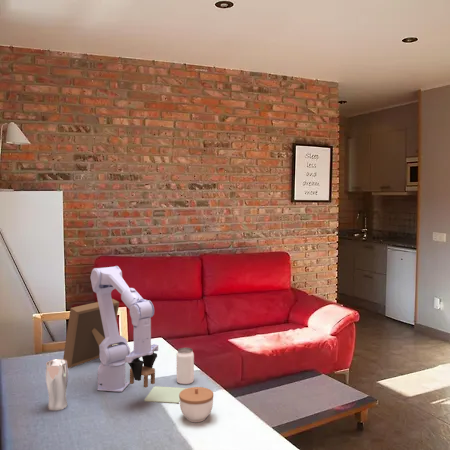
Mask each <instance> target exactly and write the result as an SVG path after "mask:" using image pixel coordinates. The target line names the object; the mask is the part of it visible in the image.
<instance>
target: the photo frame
mask: <svg viewBox="0 0 450 450" xmlns="http://www.w3.org/2000/svg"><path fill="white" fill-rule="evenodd" d="M112 302H113V307H114V312H115V317H116V320H117V319H118V312H119V311H118V310H119V307H120V301H118V300H116V299H114V298H112ZM68 316H69V317H68V322H67V330H66V335H65V336H66V337H65V343H64V344H65V345H64V351H63V356H62V359H64V360H67V365H68V369H71V368H74V367H76V366H77V367H78V366H79V365H83V364H84V363H88V362H91V361H94V360H97V359H100V356H99V354H100V349H99V345H100V344H101V343H102V341H103V340H104V339H105V334H104V329H103V324H102V319H101V314H100V309H99V304H98V301H96V302H91V303H87V304H82V305H79V306H78V305H77V306H74V307H70V309H69V315H68ZM109 346H113V344H112V345H109ZM109 346H108V347H109Z"/></svg>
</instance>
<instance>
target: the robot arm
mask: <svg viewBox="0 0 450 450" xmlns="http://www.w3.org/2000/svg"><path fill="white" fill-rule="evenodd" d="M89 278H90V281H91V282H90V283H91V287H92V291H93V292H94V293H95V294H96V298H97V299H96V300H97V302H98V304H99V309H100V314H101V319H102V324H103V329H104V334H105V339H104V340H103V341H102V343H101V344H100V345H99V349H100V354H99V356H100V358H99V360H100V363H99V366H98V368H97V389H96V390H97V391H101V392H119V393H121V392H123V391H124V390H125V389H126V388H127V387H128V385H130V381H126V363H127V364H128V365H129V367H130V369H132V372H133V375H134V381H138V382H140V381H142V375H141V371H142V366H146V367H150V368H153V367H154V363H155V362H156V359H157V357H158V353H155V352H158V351H159V345H158V344H155V343H154V344H152V319H151V318H152V317H153V316H154V315H155V307H154V304H153V302H152V301H151V300H150V299H149V300H148V299H144V298H143V297H142V295H140V293H139V292H138V291H137V290H136V289H135V288H134V287H129V285H128V283H127V282H126V280H124V278H123V271H122V270H121V267H119V266H118V265H115V266H109V267H108V266H107V267H106V266H105V267H94V268H92V270H91V274H90V277H89ZM113 290H116V291H117V292H118V293H119V294H120V299H121V301H122V303H124V305H125V306H126V307H127V308H128V309H129V316H130V319H131V325H132V326H133V350H132V351H131V348H130V346H129V344H128V342H127V339H126V338H125V337H124V336H122V335H120V332H119V327H118V322H117V319H116V317H115V312H114V307H113V302H112V299H113V298H112V292H113ZM109 345H112V346H109ZM108 346H109V347H108ZM140 358H141V359H142V360H141V359H140ZM149 376H150V377H151V374H150V375H148V377H149Z"/></svg>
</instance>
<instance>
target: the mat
mask: <svg viewBox="0 0 450 450" xmlns="http://www.w3.org/2000/svg"><path fill="white" fill-rule="evenodd" d="M184 389H187V387H174V386H173V387H172V386H171V387H170V386H156V385H155V386H153V387H152V389H151V390H150V391H149V393H148V394H147V395H146V397H145V398H144V400H143V402H146V403H147V402H149V403H163V404H177V405H178V404H179V405H180V398H179V394H180V392H181V391H183V390H184Z"/></svg>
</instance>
